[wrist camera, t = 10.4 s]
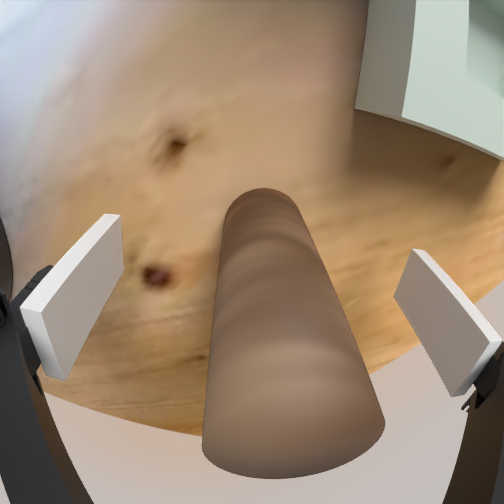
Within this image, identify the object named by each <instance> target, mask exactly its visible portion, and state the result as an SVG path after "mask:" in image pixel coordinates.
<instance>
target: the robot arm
mask: <svg viewBox="0 0 504 504" xmlns="http://www.w3.org/2000/svg"><path fill="white" fill-rule="evenodd" d="M123 272H124V263H123V249H122V232H121V215H114V214H104V215H103V216H102V217H101V218H100V219H99V220H98V221H97V222H96V223H95V224H94V225H93V226H92V227H91V228H90V229H89V230H88V231H87V232H86V233H85V234H84V235H83V236H82V237H81V238H80V239H79V240H78V241H77V242H76V243H75V244H74V245H73V246H72V247H71V248H70V250H69V251H68V252H67V253H66V254H65V255H64V256H63V257H62V258H61V259H60V260H59V261H58V263H57V264H56V265H55V266H51V265H48V266H47V267H45V268H43V269H42V270H40V271H38V272H37V273H36V275H35V276H34V277H33V278H32V279H31V282H28V283H27V285H26V286H25V288H23V289H22V290H21V291H20V293H19V294H18V295H17V296H16V297H15V299H14V300H13V301H12V302H11V303H10V304H8V300H9V297H10V294H11V288H12V267H11V259H10V253H9V248H8V243H7V239H6V236H5V232H4V229H3V226H2V223H1V220H0V475H1V478H2V481H3V484H4V487H5V490H6V493H7V495H8V498H9V501H10V504H94V503H93V501H92V499H91V498H90V496H89V494H88V492H87V491H86V489H85V487H84V485H83V483H82V481H81V480H80V478H79V476H78V474H77V472H76V470H75V468H74V466H73V464H72V461H71V459H70V458H69V455H68V453H67V451H66V449H65V446H64V444H63V442H62V439H61V437H60V435H59V432H58V430H57V427H56V425H55V422H54V420H53V417H52V415H51V412H50V409H49V406H48V404H47V401H46V398H45V395H44V392H43V389H42V386H41V383H40V379H39V377H38V375H37V373H36V371H37V369H38V368H39V366H40V364H42V367H43V369H44V371H45V373H46V375H47V376H50V377H53V378H57V379H60V380H64V381H66V380H67V378H68V376H69V374H70V371H71V369H72V367H73V365H74V363H75V361H76V359H77V357H78V355H79V353H80V351H81V349H82V347H83V345H84V343H85V341H86V339H87V337H88V335H89V333H90V331H91V329H92V328H93V326H94V324H95V322H96V320H97V318H98V316H99V315H100V313H101V311H102V309H103V307H104V305H105V304H106V302H107V300H108V298H109V296H110V295H111V293H112V291H113V289H114V288H115V286H116V284H117V282H118V281H119V279H120V277H121V276H122V274H123ZM393 297H394V298H395V300H396V301H397V303H398V305H399V306H400V308H401V310H402V311H403V313H404V314H405V316H406V318H407V319H408V321H409V323H410V324H411V326H412V328H413V329H414V331H415V333H416V334H417V336H418V338H419V339H420V341H421V343H422V345H423V346H424V348H425V350H426V352H427V353H428V355H429V357H430V359H431V360H432V362H433V364H434V366H435V368H436V370H437V371H438V373H439V375H440V377H441V379H442V380H443V383H444V384H445V386H446V388H447V390H448V392H449V394H450V396H451V397H455V396H460V395H464V394H465V393H466V392H467V390H468V389H469V388H470V387H471V385H472V384H474V386H475V387H476V390H475V391H474V393H473V394H472V395H471V396H470V398H469V399H468V400H467V401H466V402H465V404H464V405H463V406H462V408H461V409H462V410H464V408H465V407H466V406H468V405H469V406H470V407H469V408H468V410H467V411H466V412H468V417H467V422H466V426H465V431H464V435H463V439H462V443H461V447H460V451H459V454H458V458H457V462H456V465H455V468H454V471H453V475H452V478H451V481H450V484H449V487H448V490H447V493H446V495H445V498H444V501H443V503H442V504H504V342H503V341H502V339H501V338H500V337H499V336H498V334H497V333H496V332H495V330H494V329H493V328H492V326H491V325H490V324H489V323H488V321H487V320H486V319H485V318H484V316H483V315H482V314H481V313H480V312H479V311H478V309H477V308H476V307H475V306H474V304H473V303H472V302H471V301H470V300H469V298H468V297H467V296H466V295H465V294H464V293H463V292H462V290H461V289H460V288H459V287H458V286H457V285H456V284H455V283H454V281H453V280H452V279H451V278H450V277H449V276H448V275H447V274H446V273H445V272H444V270H443V269H442V268H441V267H440V266H439V265H438V264H437V263H436V262H435V261H434V260H433V259H432V258H431V257H430V256H429V255H428V253H427V252H426V251H425V250H420V249H413V248H412V250H411V252H410V255H409V258H408V261H407V263H406V266H405V269H404V271H403V274H402V276H401V279H400V282H399V284H398V287H397V289H396V292H395V294H394V296H393Z"/></svg>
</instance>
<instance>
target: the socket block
mask: <svg viewBox="0 0 504 504" xmlns="http://www.w3.org/2000/svg"><path fill="white" fill-rule="evenodd" d="M354 108H355V109H359V110H362V111H366V112H370V113H374V114H377V115H381V116H384V117H388V118H391V119H395V120H398V121H401V122H404V123H407V124H411V125H414V126H417V127H420V128H423V129H425V130H428V131H431V132H434V133H437V134H439V135H442V136H445V137H447V138H450V139H453V140H455V141H458V142H460V143H463V144H465V145H468V146H470V147H472V148H475V149H477V150H479V151H482V152H484V153H486V154H488V155H491V156H493V157H495V158H497V159H499V160H501V161H504V0H369V8H368V17H367V26H366V34H365V42H364V49H363V56H362V63H361V70H360V76H359V83H358V89H357V95H356V101H355V107H354Z"/></svg>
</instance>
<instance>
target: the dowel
mask: <svg viewBox="0 0 504 504" xmlns="http://www.w3.org/2000/svg"><path fill="white" fill-rule="evenodd" d="M384 428H385V419H384V416H383V413H382V410H381V407H380V405H379V402H378V399H377V396H376V393H375V391H374V388H373V385H372V382H371V380H370V377H369V374H368V372H367V369H366V366H365V364H364V361H363V359H362V356H361V353H360V351H359V348H358V346H357V343H356V341H355V338H354V336H353V333H352V331H351V328H350V326H349V323H348V321H347V318H346V316H345V313H344V311H343V309H342V306H341V304H340V301H339V299H338V297H337V294H336V292H335V289H334V287H333V285H332V282H331V280H330V278H329V276H328V273H327V271H326V269H325V266H324V264H323V262H322V260H321V257H320V255H319V253H318V251H317V248H316V246H315V244H314V242H313V239H312V237H311V235H310V233H309V231H308V229H307V226H306V224H305V222H304V220H303V218H302V216H301V214H300V211H299V209H298V207H297V206H296V204H295V203H294V202H293V200H292V199H291V198H289V197H288V196H287V195H285V194H284V193H282V192H280V191H277V190H274V189H267V188H261V189H254V190H251V191H248V192H246V193H244V194H242V195H241V196H239V197H238V198H237V199H236V200H235V201H234V202H233V203H232V204H231V206H230V207H229V209H228V211H227V214H226V217H225V223H224V231H223V239H222V247H221V255H220V263H219V272H218V280H217V289H216V298H215V307H214V316H213V326H212V336H211V346H210V356H209V366H208V377H207V388H206V400H205V412H204V424H203V437H202V451H203V453H204V455H205V456H206V458H207V459H208V460H209V461H210V462H212V463H213V464H214V465H216V466H217V467H219V468H221V469H223V470H225V471H228V472H231V473H233V474H237V475H241V476H246V477H252V478H262V479H287V478H296V477H303V476H308V475H313V474H317V473H321V472H325V471H328V470H331V469H334V468H336V467H339V466H341V465H344V464H346V463H348V462H350V461H352V460H353V459H355V458H357V457H359V456H360V455H362V454H363V453H365V452H366V451H367V450H369V449H370V448H371V447H372V446H373V445H374V444H375V443H376V442H377V441H378V440H379V438H380V437H381V435H382V433H383V431H384Z"/></svg>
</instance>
